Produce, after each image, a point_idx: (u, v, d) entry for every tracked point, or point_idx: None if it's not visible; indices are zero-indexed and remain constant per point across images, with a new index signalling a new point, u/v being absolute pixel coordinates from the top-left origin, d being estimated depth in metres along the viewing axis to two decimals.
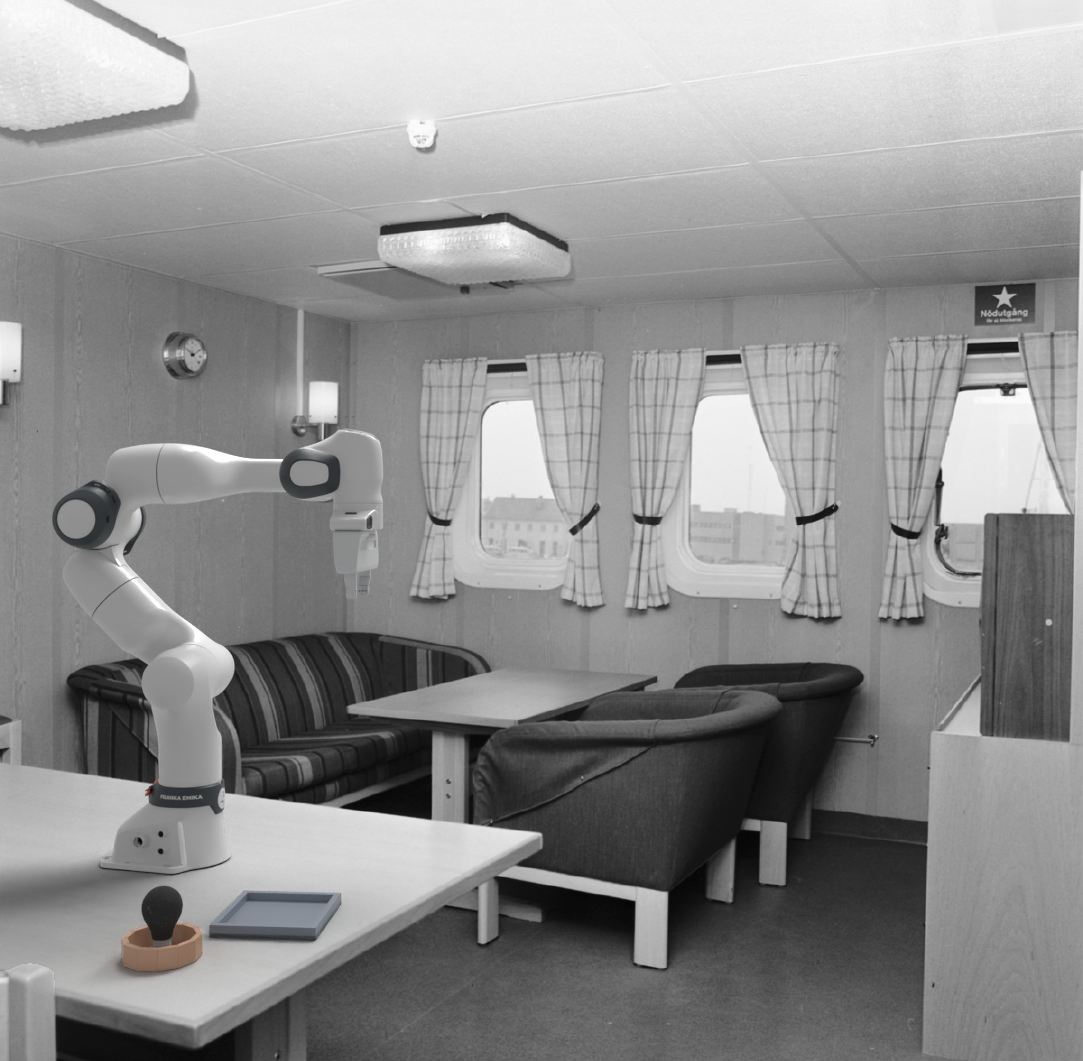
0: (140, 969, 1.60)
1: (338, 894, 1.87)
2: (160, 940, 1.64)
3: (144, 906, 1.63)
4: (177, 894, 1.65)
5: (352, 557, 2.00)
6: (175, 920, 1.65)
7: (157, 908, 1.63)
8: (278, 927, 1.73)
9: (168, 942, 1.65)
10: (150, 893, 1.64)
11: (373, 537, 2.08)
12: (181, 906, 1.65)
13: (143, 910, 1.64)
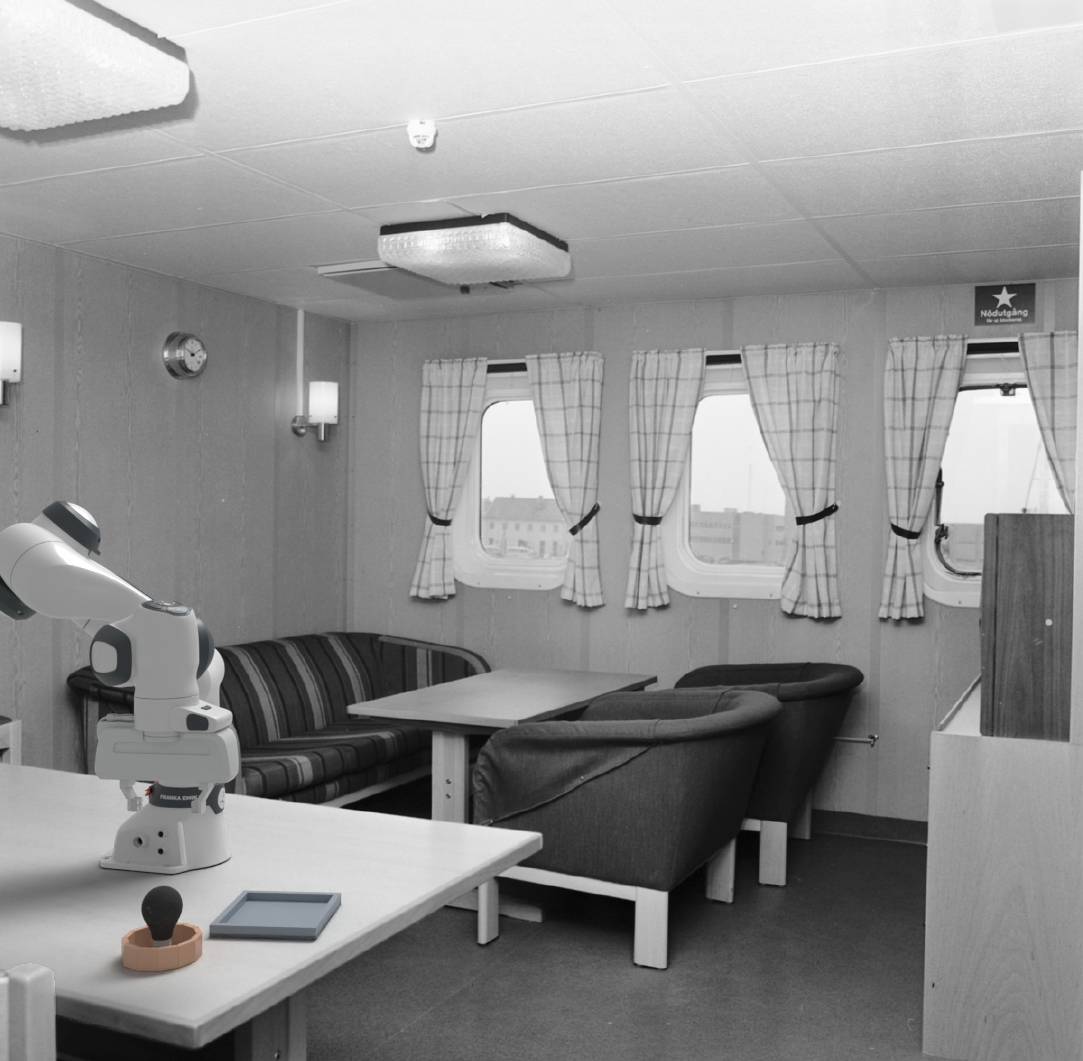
0: (140, 969, 1.60)
1: (338, 894, 1.87)
2: (160, 940, 1.64)
3: (144, 906, 1.63)
4: (177, 894, 1.65)
5: (237, 759, 1.67)
6: (175, 920, 1.65)
7: (157, 908, 1.63)
8: (278, 927, 1.73)
9: (168, 942, 1.65)
10: (150, 893, 1.64)
11: None
12: (181, 906, 1.65)
13: (143, 910, 1.64)
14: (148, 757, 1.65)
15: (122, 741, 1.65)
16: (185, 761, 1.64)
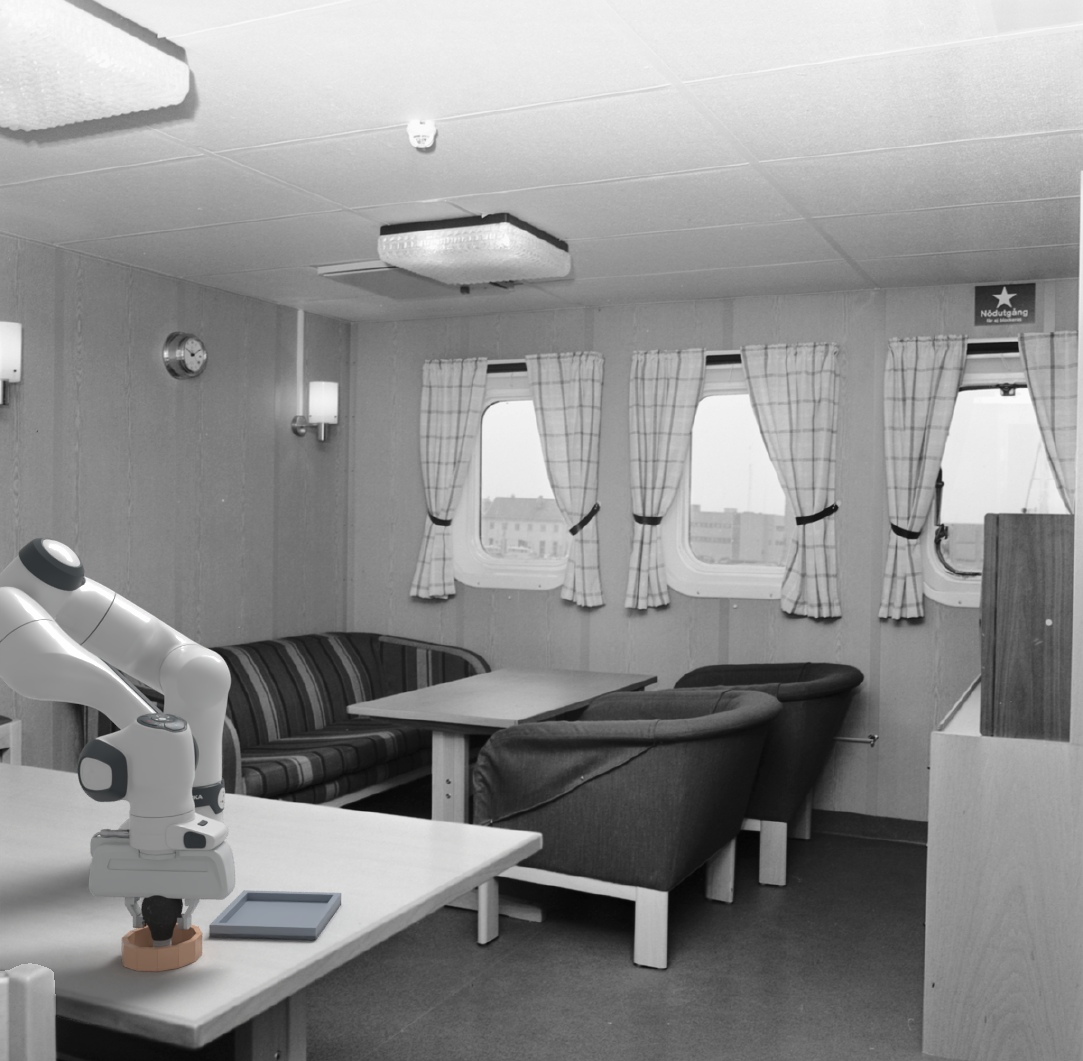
0: (140, 969, 1.60)
1: (338, 894, 1.87)
2: (160, 940, 1.64)
3: (144, 906, 1.63)
4: None
5: (234, 874, 1.66)
6: (175, 920, 1.65)
7: (157, 908, 1.63)
8: (278, 927, 1.73)
9: (168, 942, 1.65)
10: None
11: None
12: (181, 906, 1.65)
13: (143, 910, 1.64)
14: (143, 874, 1.64)
15: (117, 858, 1.64)
16: (181, 878, 1.63)
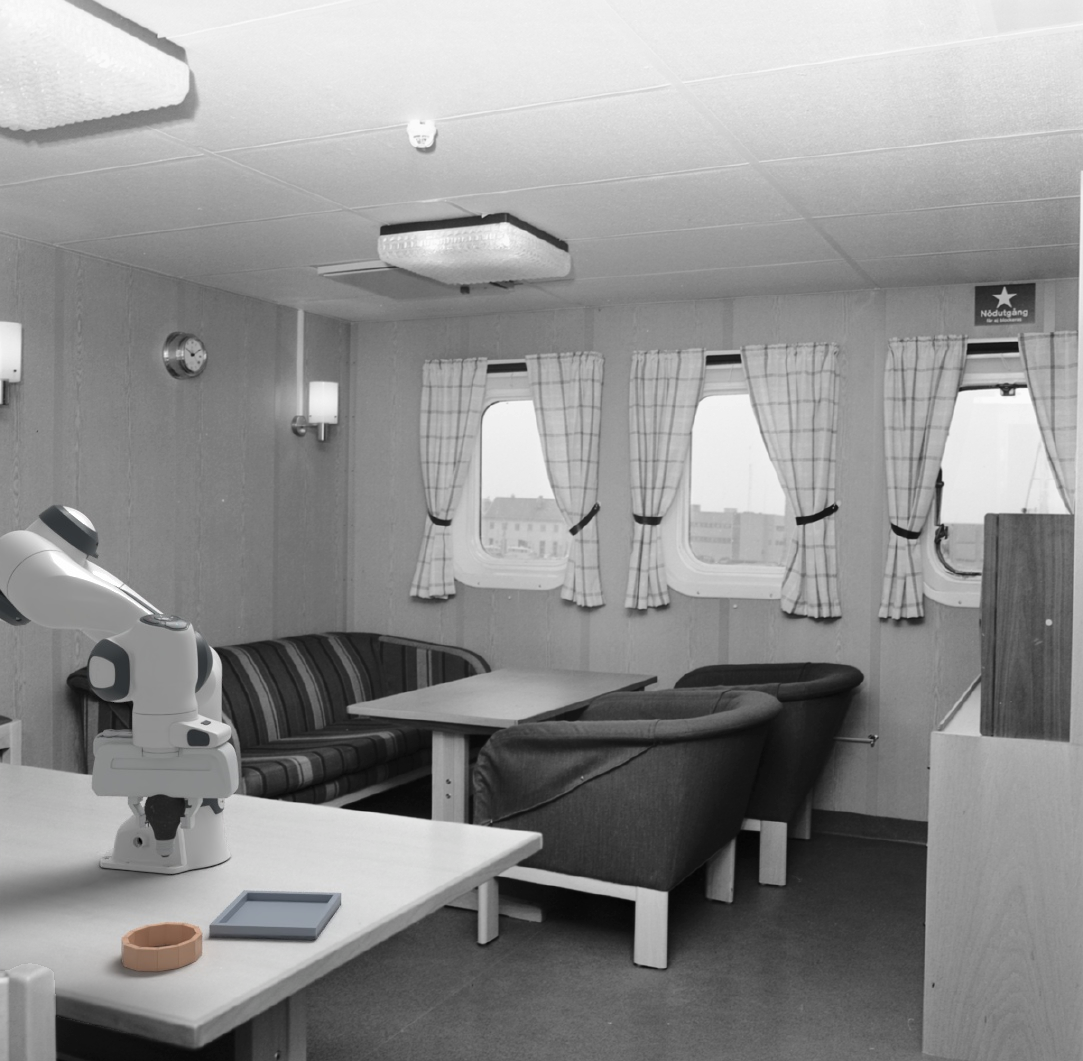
0: (140, 969, 1.60)
1: (338, 894, 1.87)
2: (163, 840, 1.64)
3: (147, 805, 1.63)
4: None
5: (237, 774, 1.66)
6: (178, 820, 1.64)
7: (160, 807, 1.63)
8: (278, 927, 1.73)
9: (171, 842, 1.65)
10: None
11: None
12: (184, 806, 1.65)
13: (146, 809, 1.63)
14: (146, 773, 1.64)
15: (120, 758, 1.64)
16: (185, 776, 1.63)
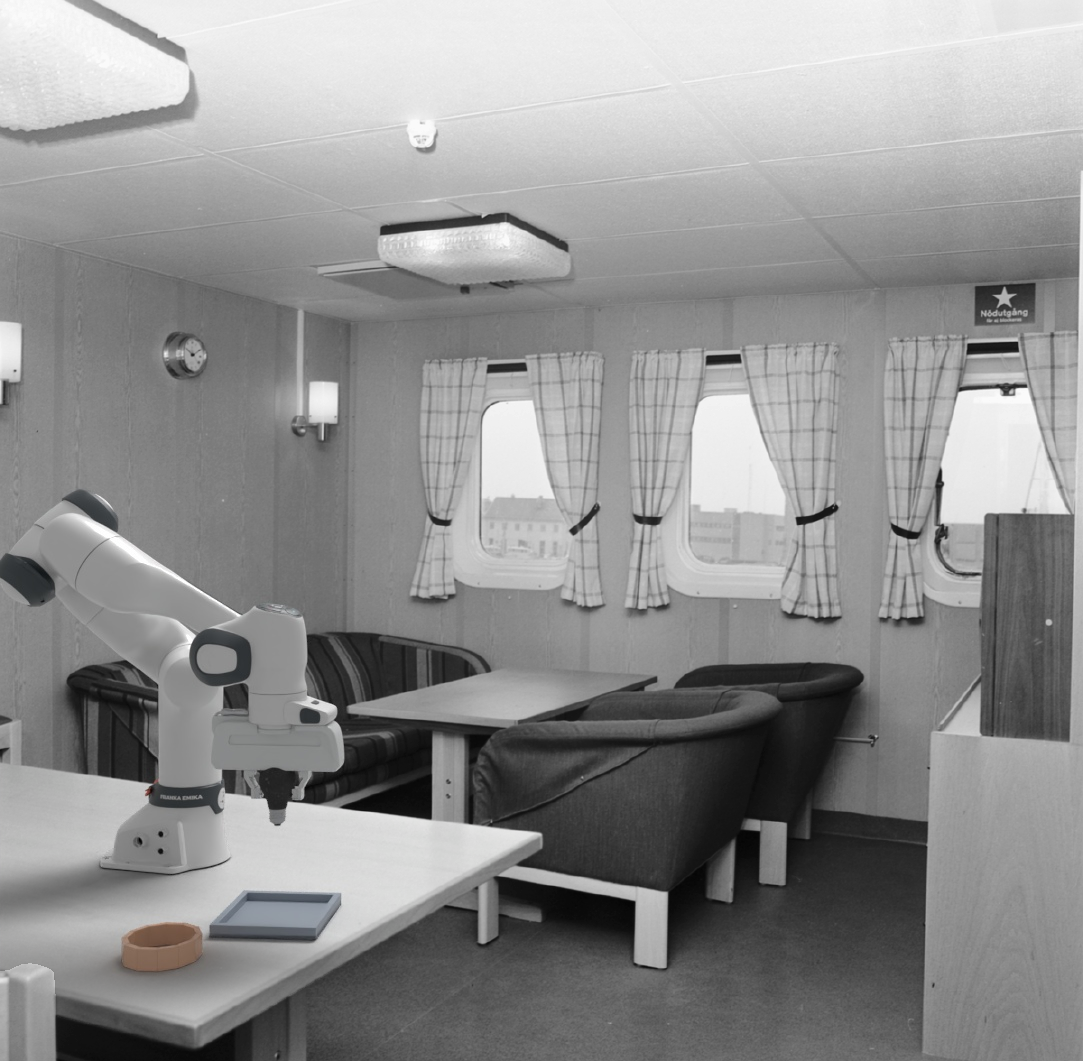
0: (140, 969, 1.60)
1: (338, 894, 1.87)
2: (276, 809, 1.79)
3: (262, 777, 1.78)
4: None
5: (343, 750, 1.81)
6: (290, 791, 1.79)
7: (274, 779, 1.78)
8: (278, 927, 1.73)
9: (283, 812, 1.80)
10: None
11: None
12: (295, 779, 1.80)
13: (261, 781, 1.78)
14: (261, 748, 1.79)
15: (237, 734, 1.79)
16: (297, 751, 1.78)
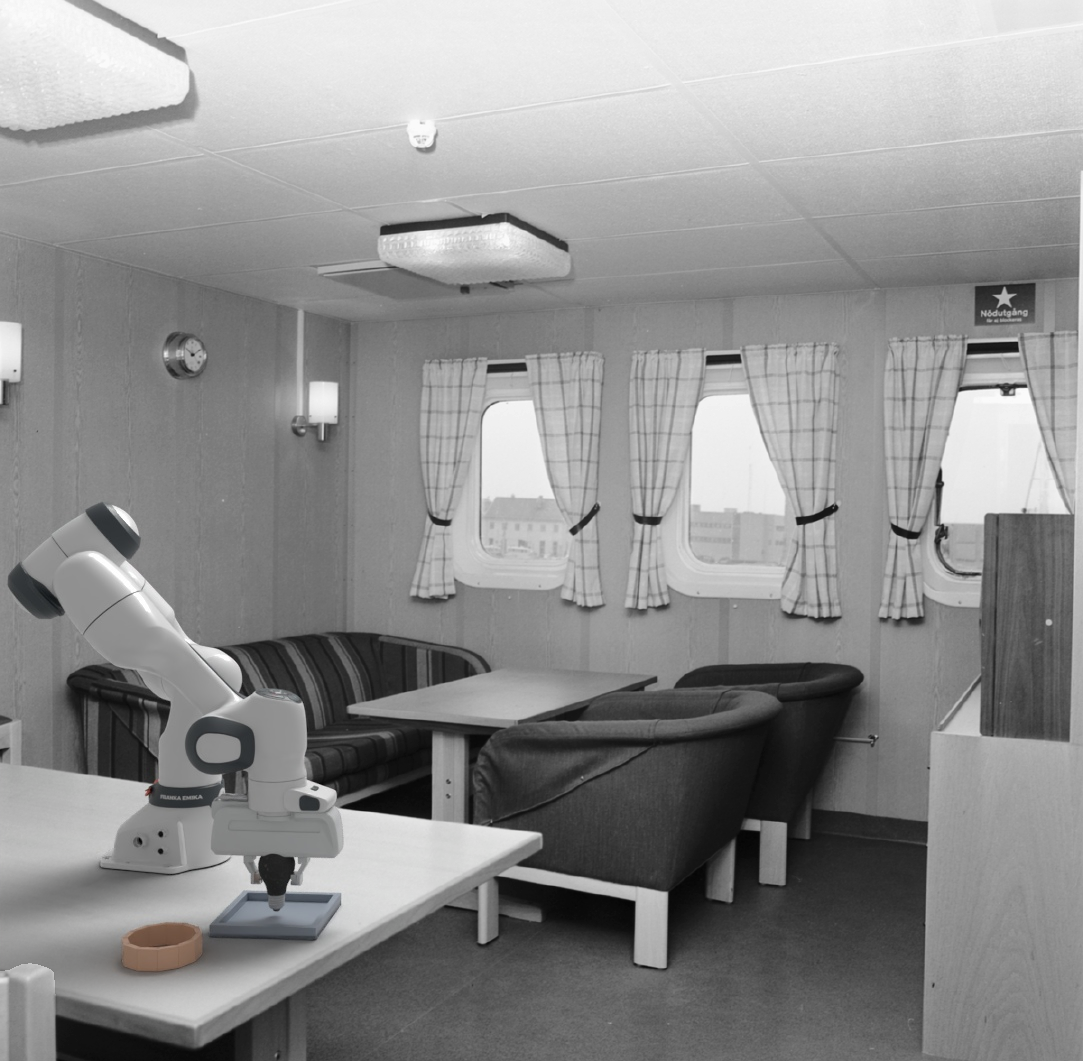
0: (140, 969, 1.60)
1: (338, 894, 1.87)
2: (275, 895, 1.79)
3: (261, 864, 1.79)
4: None
5: (342, 835, 1.81)
6: (289, 877, 1.80)
7: (274, 866, 1.78)
8: (278, 927, 1.73)
9: (282, 897, 1.80)
10: None
11: None
12: (294, 865, 1.80)
13: (260, 868, 1.79)
14: (261, 834, 1.79)
15: (237, 820, 1.79)
16: (296, 838, 1.79)
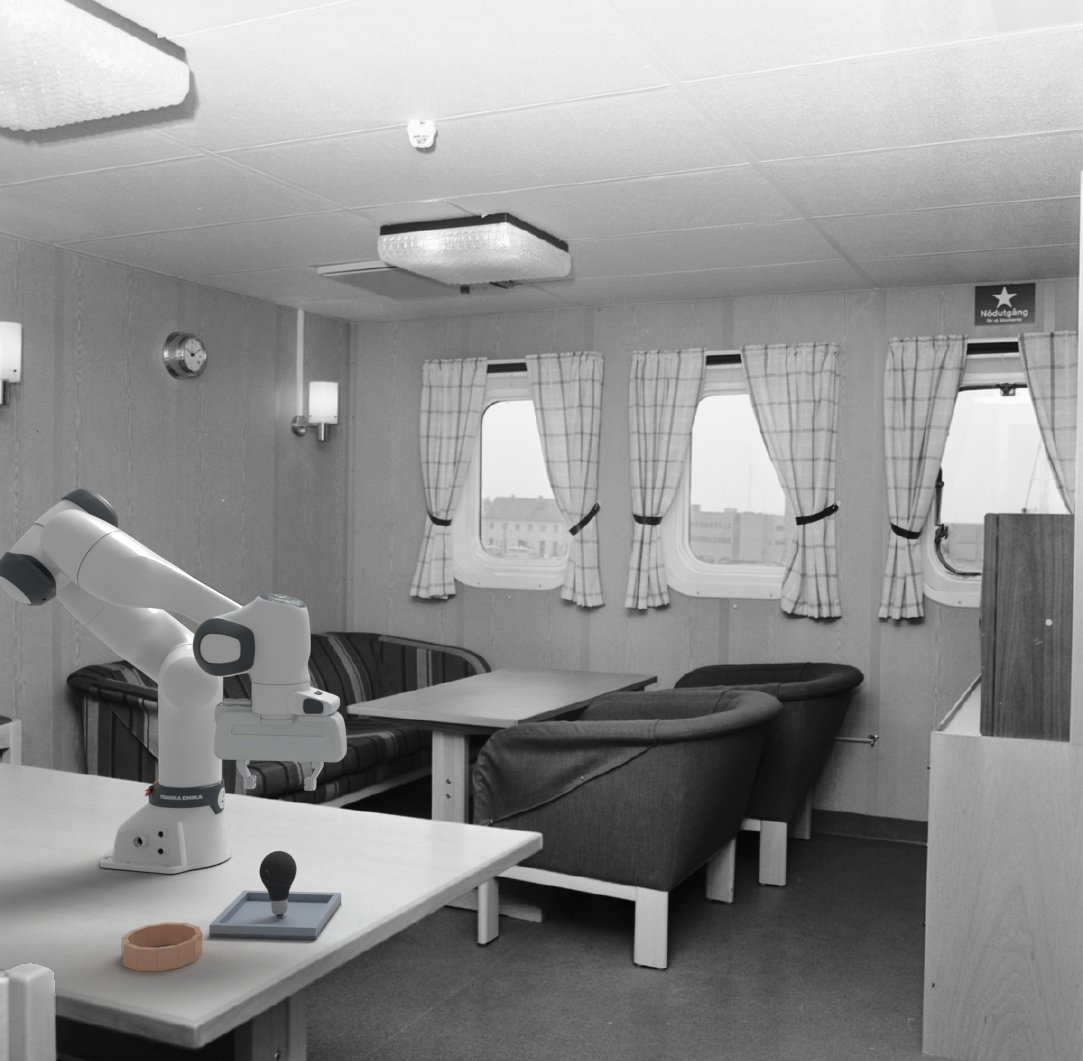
0: (140, 969, 1.60)
1: (338, 894, 1.87)
2: (278, 900, 1.79)
3: (262, 869, 1.79)
4: (291, 858, 1.80)
5: (345, 740, 1.81)
6: (291, 881, 1.80)
7: (275, 871, 1.78)
8: (278, 927, 1.73)
9: (285, 902, 1.80)
10: (267, 858, 1.79)
11: None
12: (295, 869, 1.80)
13: (262, 873, 1.79)
14: (264, 738, 1.79)
15: (240, 724, 1.79)
16: (299, 742, 1.79)
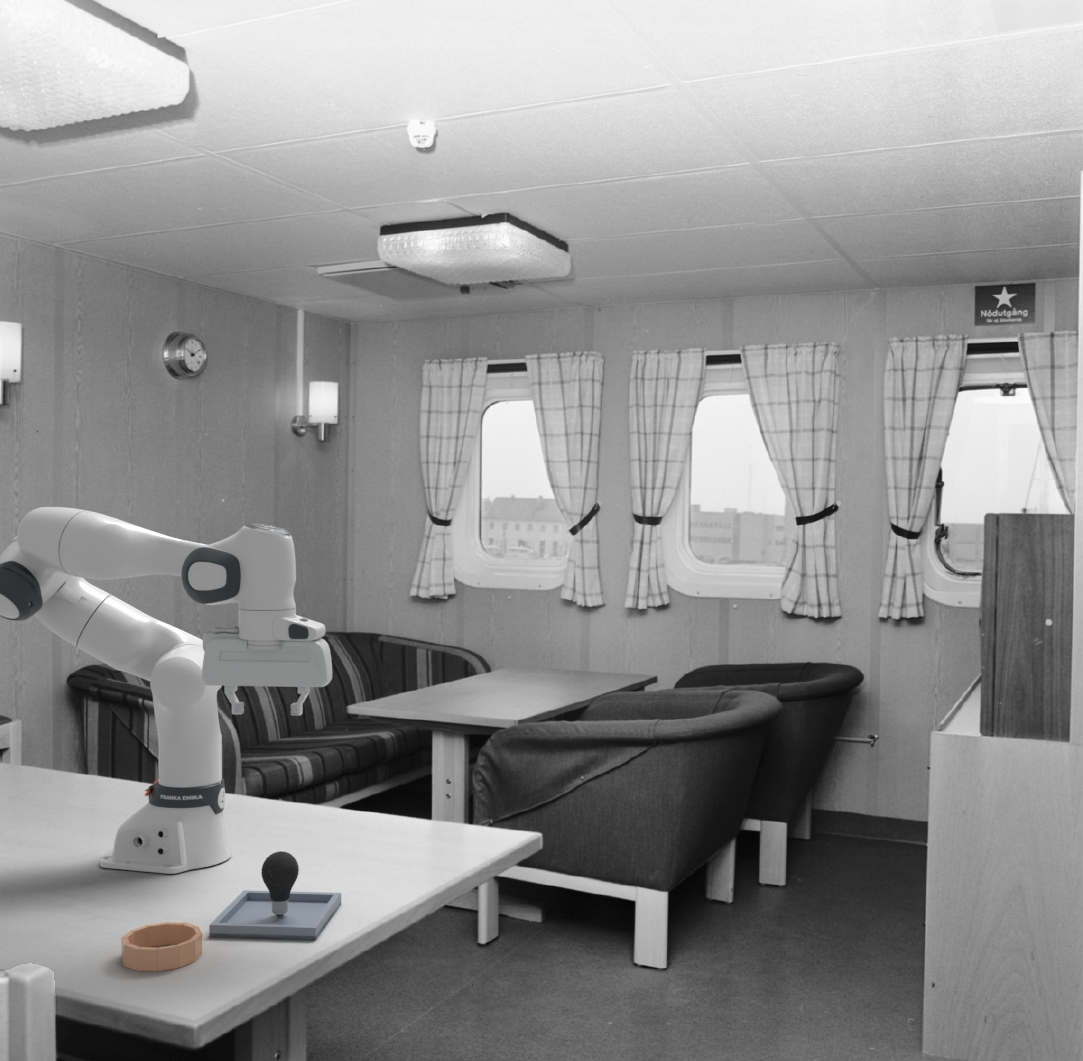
0: (140, 969, 1.60)
1: (338, 894, 1.87)
2: (279, 901, 1.79)
3: (264, 870, 1.78)
4: (294, 859, 1.80)
5: (331, 667, 1.85)
6: (292, 883, 1.79)
7: (277, 872, 1.78)
8: (278, 927, 1.73)
9: (286, 903, 1.80)
10: (270, 858, 1.79)
11: None
12: (297, 870, 1.80)
13: (264, 874, 1.78)
14: (251, 664, 1.83)
15: (228, 651, 1.83)
16: (286, 667, 1.82)
